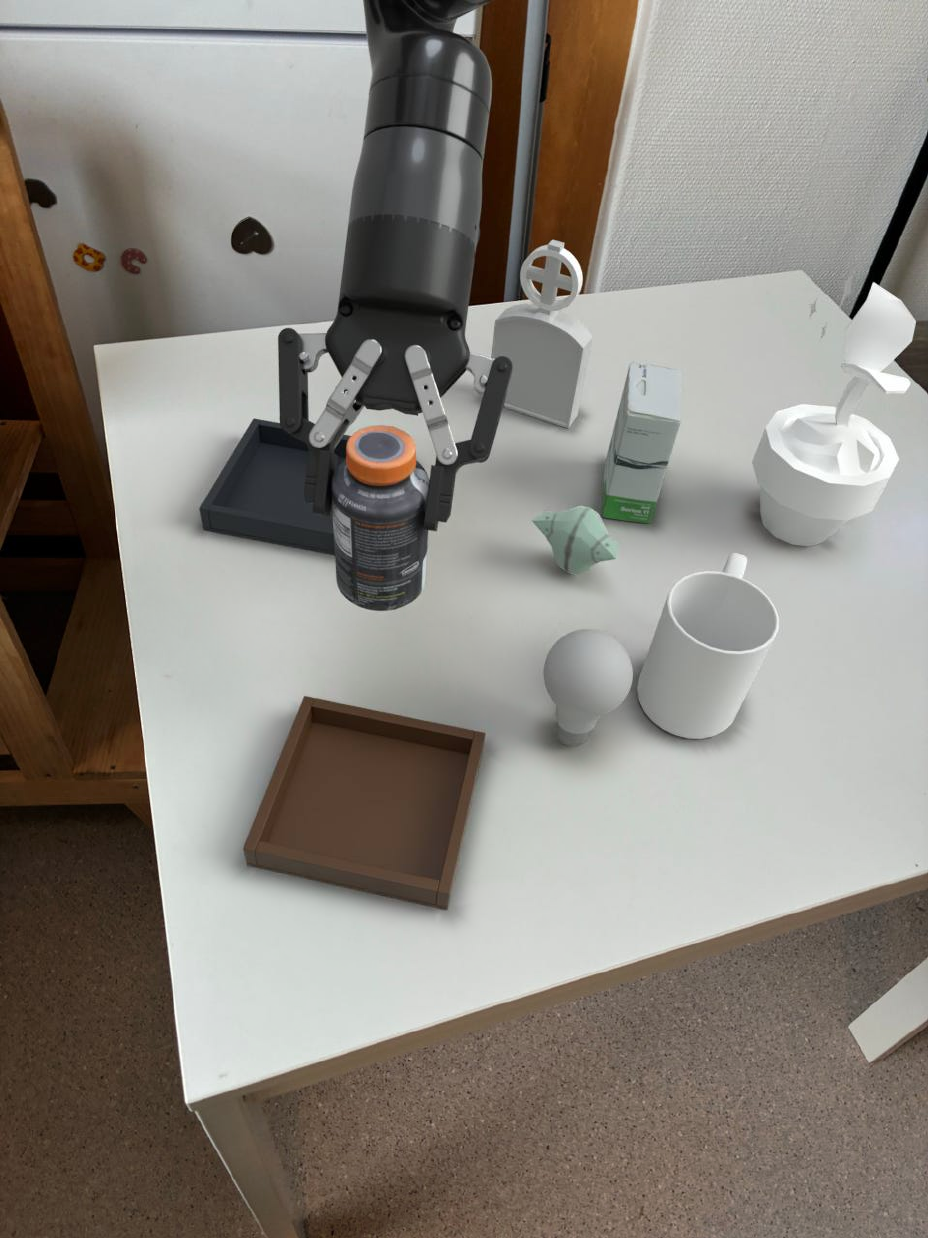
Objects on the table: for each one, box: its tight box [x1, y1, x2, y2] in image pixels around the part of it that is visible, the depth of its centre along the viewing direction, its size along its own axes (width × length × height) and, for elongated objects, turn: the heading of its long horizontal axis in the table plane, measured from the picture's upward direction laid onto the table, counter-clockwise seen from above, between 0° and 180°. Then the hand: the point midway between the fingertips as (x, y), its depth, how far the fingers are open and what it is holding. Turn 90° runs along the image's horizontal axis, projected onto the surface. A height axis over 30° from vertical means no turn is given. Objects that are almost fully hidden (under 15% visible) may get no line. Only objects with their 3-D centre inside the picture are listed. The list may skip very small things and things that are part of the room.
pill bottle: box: [331, 424, 430, 612], centre depth 56 cm, size 6×6×11 cm
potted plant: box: [751, 264, 917, 547], centre depth 76 cm, size 13×12×25 cm
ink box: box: [601, 361, 682, 524], centre depth 83 cm, size 9×5×12 cm, turn 171°
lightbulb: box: [542, 628, 634, 747], centre depth 64 cm, size 6×6×11 cm
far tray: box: [198, 418, 351, 556], centre depth 83 cm, size 16×14×3 cm
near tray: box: [242, 695, 486, 911], centre depth 62 cm, size 14×13×2 cm
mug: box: [636, 552, 780, 740], centre depth 69 cm, size 12×8×10 cm, turn 157°
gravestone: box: [490, 239, 594, 429], centre depth 89 cm, size 3×9×18 cm, turn 64°
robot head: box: [531, 505, 620, 576], centre depth 78 cm, size 8×4×7 cm, turn 58°
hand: (376, 521), depth 53 cm, fingers closed on pill bottle, 6 cm apart
